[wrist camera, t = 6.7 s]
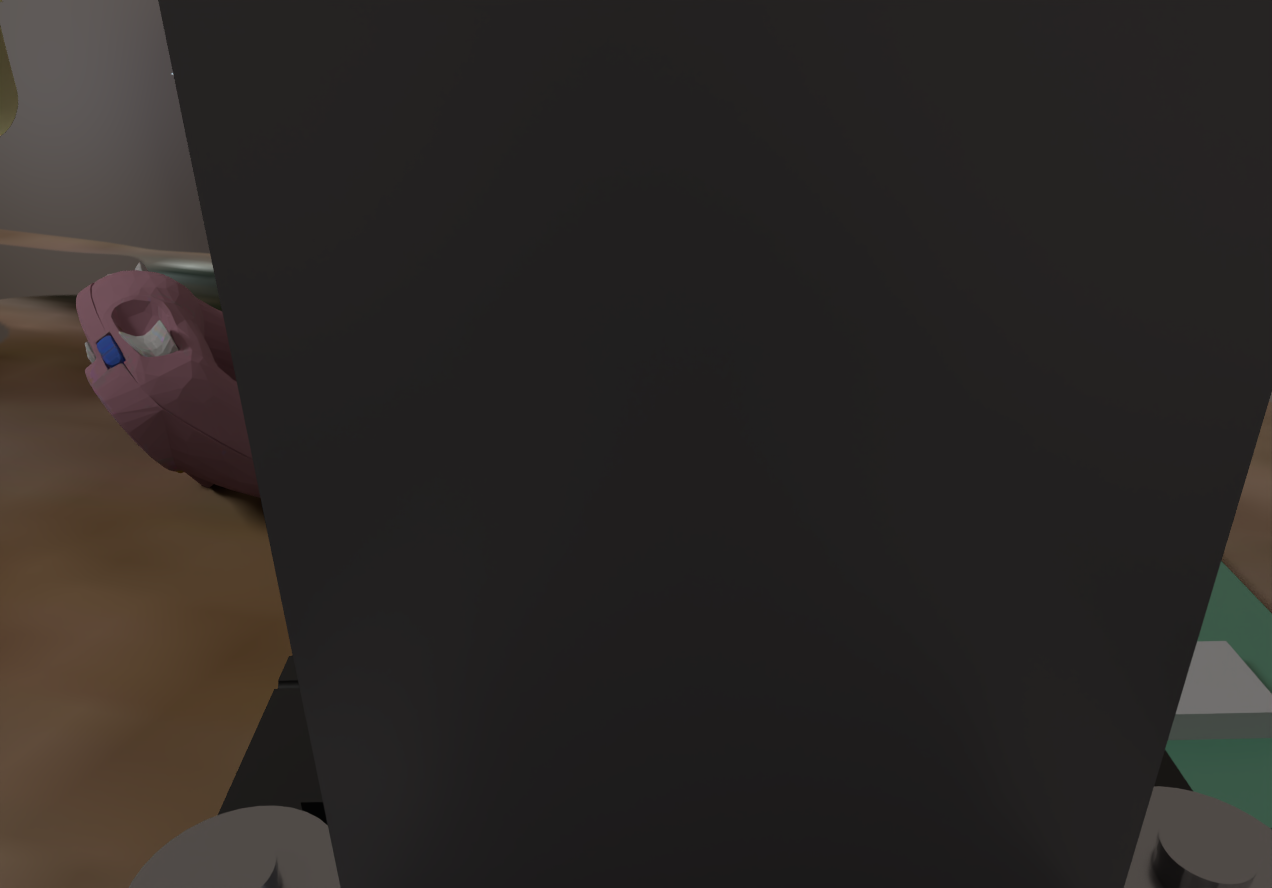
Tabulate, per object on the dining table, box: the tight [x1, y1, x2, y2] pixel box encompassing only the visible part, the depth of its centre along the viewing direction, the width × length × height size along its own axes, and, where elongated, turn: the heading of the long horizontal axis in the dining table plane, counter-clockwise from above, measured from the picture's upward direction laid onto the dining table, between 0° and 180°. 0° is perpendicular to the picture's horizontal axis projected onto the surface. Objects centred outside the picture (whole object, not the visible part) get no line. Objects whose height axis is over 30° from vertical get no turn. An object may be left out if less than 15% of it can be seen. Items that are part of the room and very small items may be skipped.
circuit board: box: [1165, 561, 1272, 829], centre depth 22 cm, size 20×14×4 cm
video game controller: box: [76, 261, 260, 498], centre depth 29 cm, size 10×5×7 cm, turn 29°
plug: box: [158, 0, 1272, 888], centre depth 8 cm, size 4×5×17 cm
